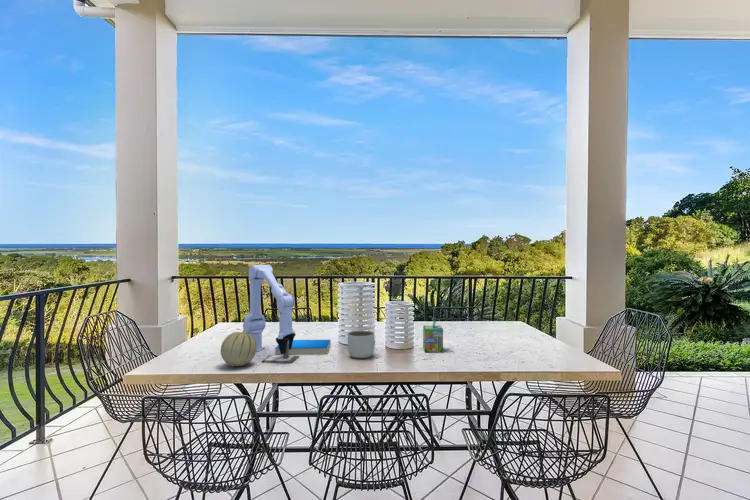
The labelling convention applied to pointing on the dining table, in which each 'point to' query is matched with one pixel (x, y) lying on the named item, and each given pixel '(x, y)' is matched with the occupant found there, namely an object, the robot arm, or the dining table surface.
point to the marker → (286, 351)
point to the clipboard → (279, 359)
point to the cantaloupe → (238, 349)
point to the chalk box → (433, 338)
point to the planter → (361, 344)
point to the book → (307, 347)
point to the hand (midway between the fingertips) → (286, 351)
